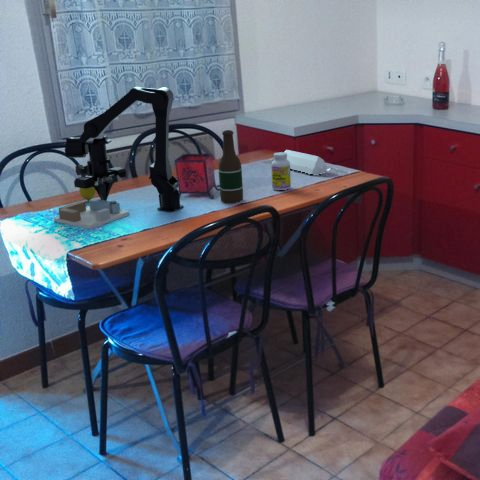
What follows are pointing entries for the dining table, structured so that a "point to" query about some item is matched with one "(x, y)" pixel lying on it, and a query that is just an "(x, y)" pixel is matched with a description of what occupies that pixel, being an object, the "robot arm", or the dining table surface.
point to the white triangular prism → (305, 162)
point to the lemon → (88, 193)
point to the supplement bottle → (280, 172)
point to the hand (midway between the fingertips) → (104, 202)
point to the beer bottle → (230, 171)
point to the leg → (104, 205)
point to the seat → (86, 215)
